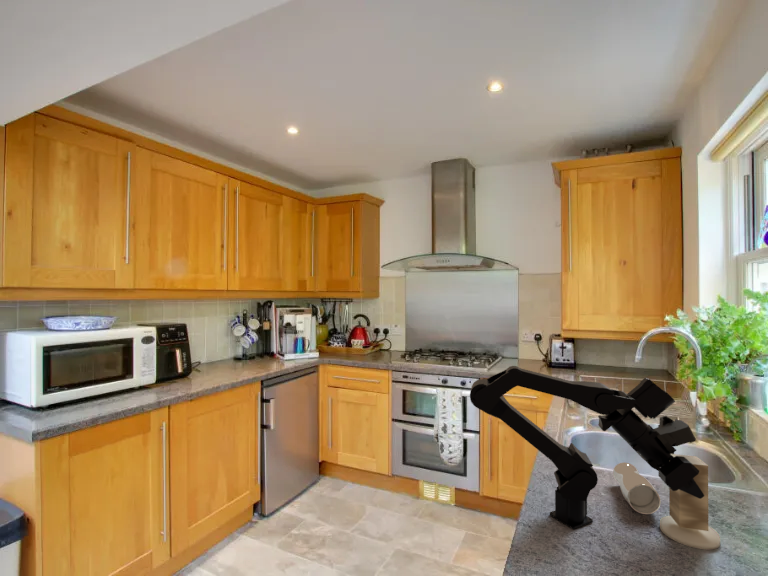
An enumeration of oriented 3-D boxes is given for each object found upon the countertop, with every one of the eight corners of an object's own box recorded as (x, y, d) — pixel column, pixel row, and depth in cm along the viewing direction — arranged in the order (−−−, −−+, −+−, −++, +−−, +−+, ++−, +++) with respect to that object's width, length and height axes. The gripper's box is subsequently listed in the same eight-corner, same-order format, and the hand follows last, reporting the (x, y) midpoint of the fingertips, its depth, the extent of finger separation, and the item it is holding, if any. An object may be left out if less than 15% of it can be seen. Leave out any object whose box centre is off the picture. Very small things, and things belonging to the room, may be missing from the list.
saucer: (703, 555, 77) (703, 548, 78) (649, 528, 86) (649, 522, 86) (730, 541, 82) (730, 535, 82) (676, 516, 91) (676, 511, 91)
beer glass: (629, 455, 106) (647, 478, 92) (647, 480, 104) (668, 506, 90) (605, 468, 107) (619, 492, 93) (622, 492, 106) (640, 521, 92)
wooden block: (679, 527, 82) (679, 462, 83) (669, 514, 87) (669, 453, 88) (708, 531, 81) (708, 465, 81) (696, 518, 86) (696, 456, 86)
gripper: (686, 421, 77) (757, 487, 74) (649, 397, 95) (705, 449, 92) (639, 458, 79) (706, 524, 76) (612, 427, 97) (665, 480, 94)
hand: (695, 490), depth 84 cm, fingers closed on wooden block, 5 cm apart
